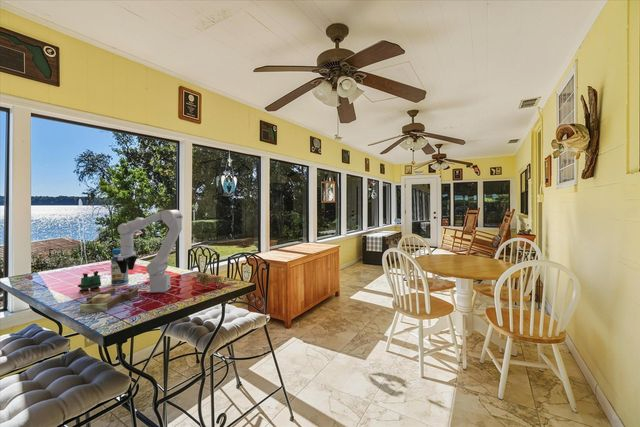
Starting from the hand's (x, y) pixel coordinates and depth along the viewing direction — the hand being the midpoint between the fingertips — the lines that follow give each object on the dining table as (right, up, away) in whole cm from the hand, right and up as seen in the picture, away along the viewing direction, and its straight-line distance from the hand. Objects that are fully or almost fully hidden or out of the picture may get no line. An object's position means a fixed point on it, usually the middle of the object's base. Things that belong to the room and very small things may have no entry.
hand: (127, 271), depth 155 cm
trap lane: (+4, -11, -17) cm, 21 cm away
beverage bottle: (-12, -10, +12) cm, 19 cm away
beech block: (+5, -11, -25) cm, 27 cm away
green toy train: (-18, -10, -3) cm, 21 cm away
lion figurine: (+42, -11, +4) cm, 44 cm away
